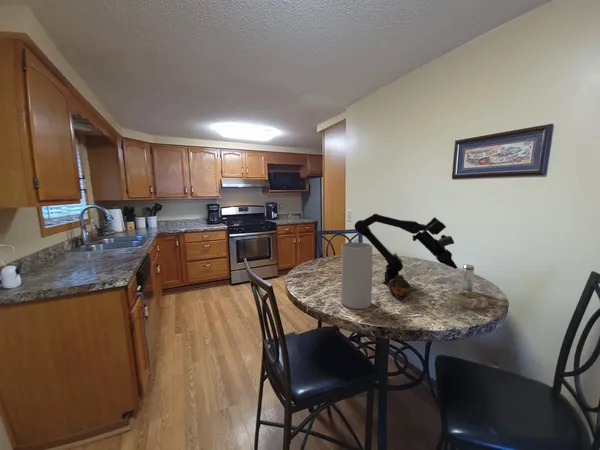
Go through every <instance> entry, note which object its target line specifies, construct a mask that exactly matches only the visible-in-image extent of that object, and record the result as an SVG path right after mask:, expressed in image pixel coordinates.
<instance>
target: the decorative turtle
mask: <svg viewBox="0 0 600 450" xmlns="http://www.w3.org/2000/svg"><path fill="white" fill-rule="evenodd" d="M411 287H412V286H411V284H410V283H409V282H408V280H406V279H405V277H404V275H402V274H399V275H398V276H396V278H394V279H392V280H391V281H390V282H389V283H388V285H387V288H388V291H389V292H390V294H391V295H392V296H395V297H396V298H401V297H403V298H406V297H407V296H408V295H409V294H410V291H411Z"/></svg>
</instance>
